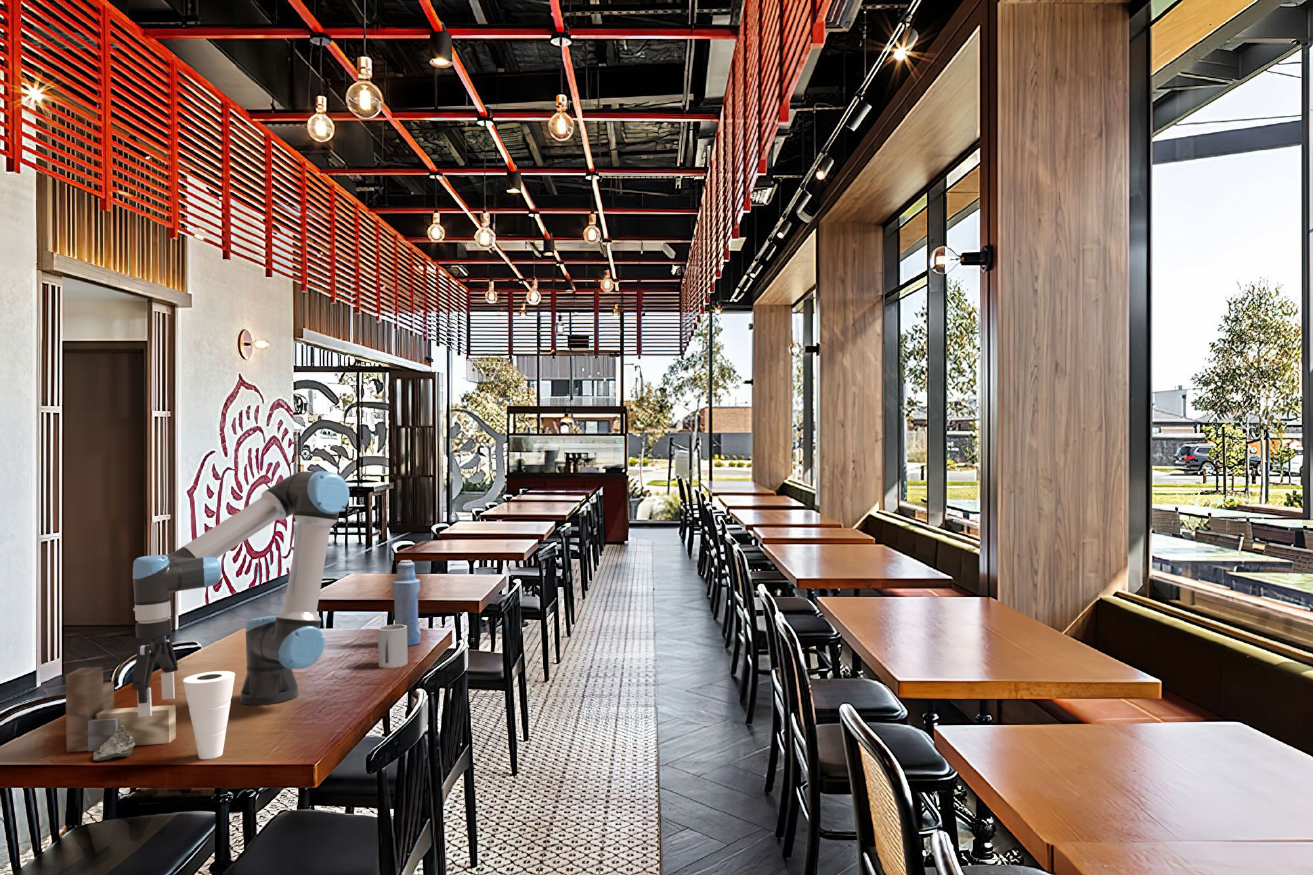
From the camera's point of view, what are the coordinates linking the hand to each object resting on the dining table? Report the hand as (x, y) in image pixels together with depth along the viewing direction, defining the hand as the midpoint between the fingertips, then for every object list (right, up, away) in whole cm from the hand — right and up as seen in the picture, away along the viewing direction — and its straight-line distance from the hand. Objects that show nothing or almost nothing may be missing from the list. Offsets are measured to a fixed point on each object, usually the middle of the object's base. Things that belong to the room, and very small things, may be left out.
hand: (157, 707), depth 212 cm
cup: (+36, -9, +72) cm, 81 cm away
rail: (-4, -8, -1) cm, 9 cm away
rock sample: (-4, -8, -11) cm, 14 cm away
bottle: (+31, -9, +102) cm, 107 cm away
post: (-13, -8, +2) cm, 16 cm away
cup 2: (+19, -8, -12) cm, 23 cm away
